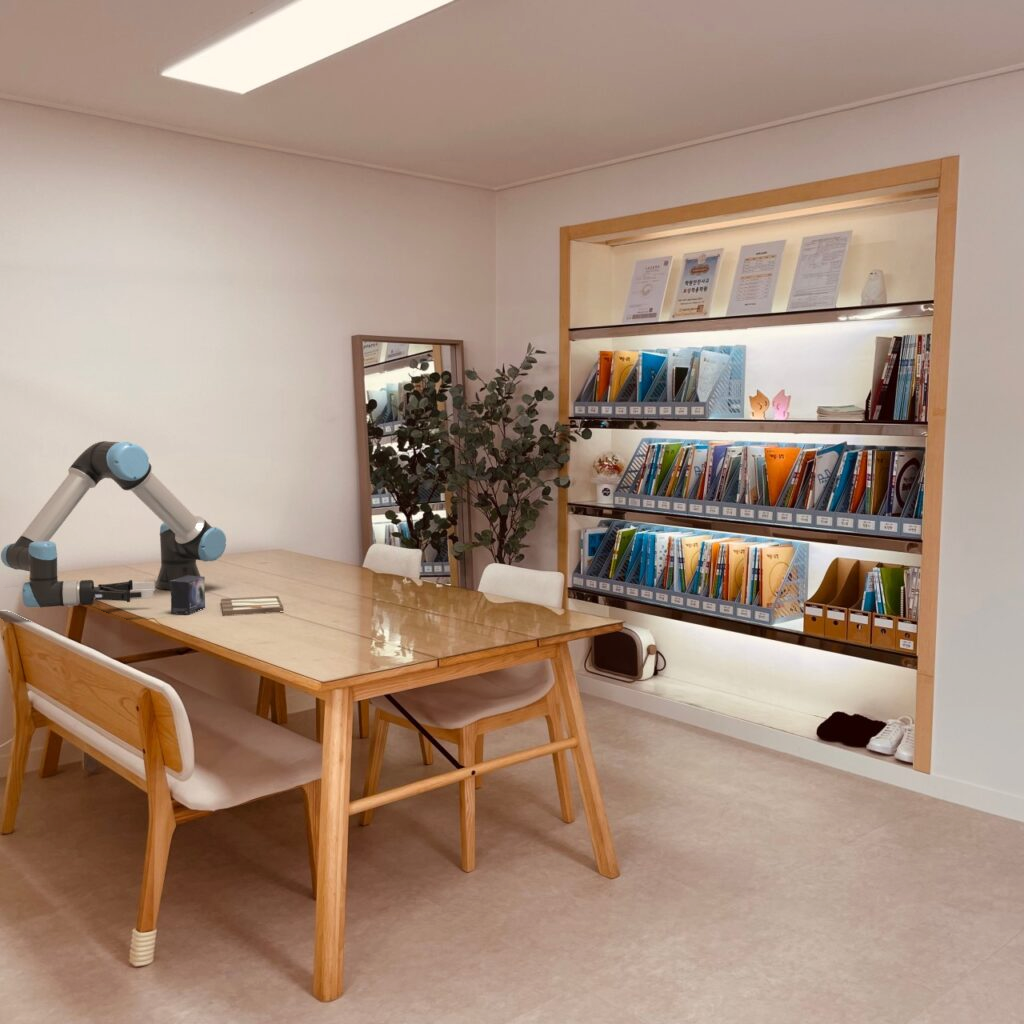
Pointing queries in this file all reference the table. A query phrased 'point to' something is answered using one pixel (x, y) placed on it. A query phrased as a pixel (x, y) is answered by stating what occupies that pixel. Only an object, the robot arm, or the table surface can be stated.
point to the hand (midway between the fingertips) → (154, 589)
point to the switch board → (251, 605)
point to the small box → (187, 594)
